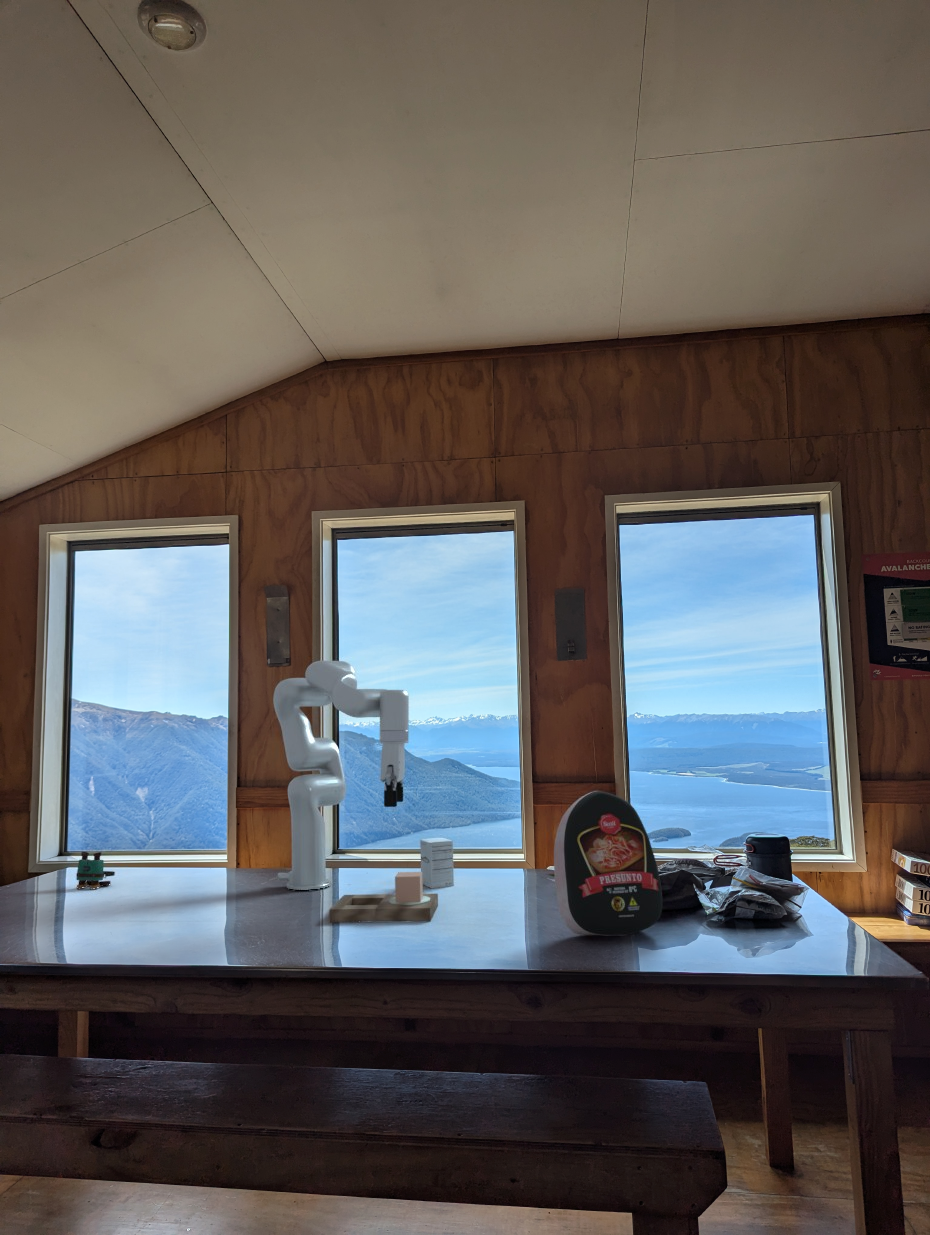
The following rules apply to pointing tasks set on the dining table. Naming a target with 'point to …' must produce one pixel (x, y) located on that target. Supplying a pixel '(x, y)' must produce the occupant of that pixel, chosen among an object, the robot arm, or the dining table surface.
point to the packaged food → (605, 868)
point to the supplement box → (437, 862)
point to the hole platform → (382, 908)
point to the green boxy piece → (92, 871)
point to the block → (408, 887)
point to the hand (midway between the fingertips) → (393, 804)
